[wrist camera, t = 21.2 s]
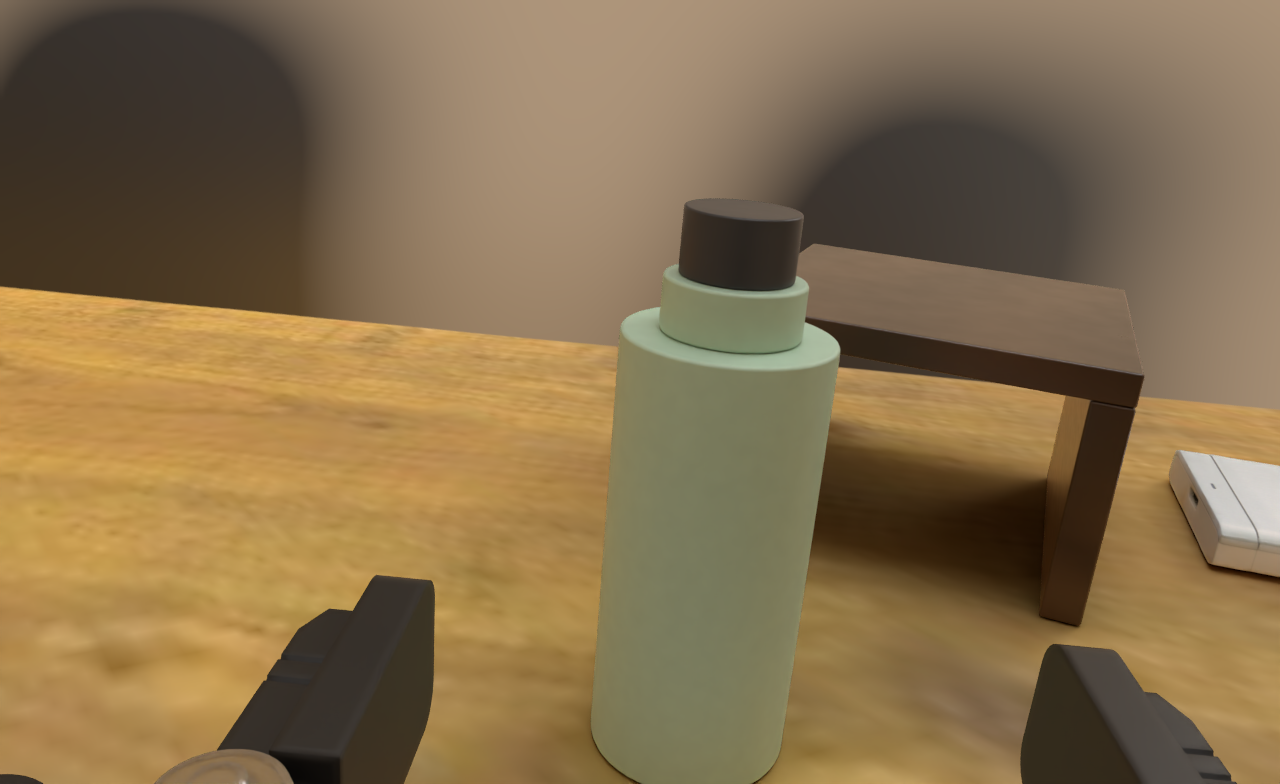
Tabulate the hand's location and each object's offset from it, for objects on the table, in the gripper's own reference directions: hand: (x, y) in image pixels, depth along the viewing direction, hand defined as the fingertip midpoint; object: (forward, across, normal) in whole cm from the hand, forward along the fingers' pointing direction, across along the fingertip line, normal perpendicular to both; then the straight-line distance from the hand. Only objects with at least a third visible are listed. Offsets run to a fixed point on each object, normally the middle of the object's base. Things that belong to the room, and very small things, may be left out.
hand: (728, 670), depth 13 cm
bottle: (+9, 0, +8) cm, 12 cm away
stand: (+23, -8, +8) cm, 26 cm away
